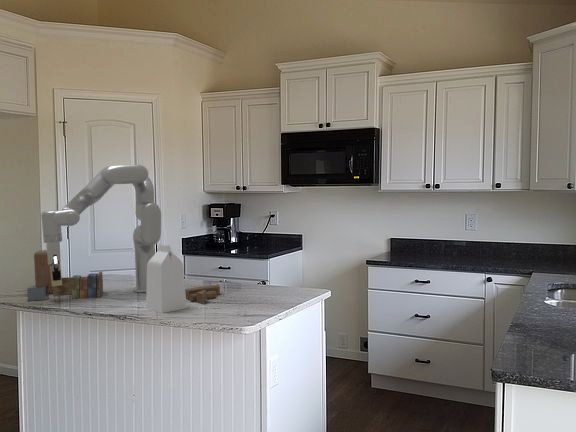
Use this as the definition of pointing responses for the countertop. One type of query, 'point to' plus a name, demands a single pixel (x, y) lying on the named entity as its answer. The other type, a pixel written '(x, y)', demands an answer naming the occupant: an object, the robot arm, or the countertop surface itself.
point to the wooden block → (42, 270)
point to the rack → (81, 286)
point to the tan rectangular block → (57, 282)
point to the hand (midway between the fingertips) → (56, 278)
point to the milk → (165, 281)
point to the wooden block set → (202, 293)
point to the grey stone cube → (38, 292)
